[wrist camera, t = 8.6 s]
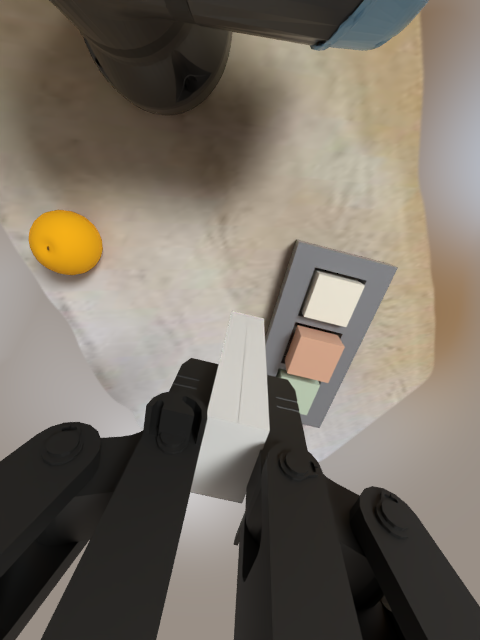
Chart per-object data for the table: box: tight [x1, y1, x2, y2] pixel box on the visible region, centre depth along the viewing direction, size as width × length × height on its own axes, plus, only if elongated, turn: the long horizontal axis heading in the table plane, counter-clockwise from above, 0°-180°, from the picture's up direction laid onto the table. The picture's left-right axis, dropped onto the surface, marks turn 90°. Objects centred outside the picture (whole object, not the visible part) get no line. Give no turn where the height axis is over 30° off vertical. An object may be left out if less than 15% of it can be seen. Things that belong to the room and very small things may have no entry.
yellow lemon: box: [29, 210, 103, 275], centre depth 34 cm, size 8×8×8 cm
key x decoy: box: [285, 325, 345, 383], centre depth 38 cm, size 6×6×4 cm
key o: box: [276, 368, 320, 415], centre depth 43 cm, size 6×6×4 cm
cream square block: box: [300, 268, 365, 327], centre depth 37 cm, size 6×6×4 cm
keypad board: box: [265, 240, 397, 428], centre depth 40 cm, size 28×13×2 cm, turn 166°
